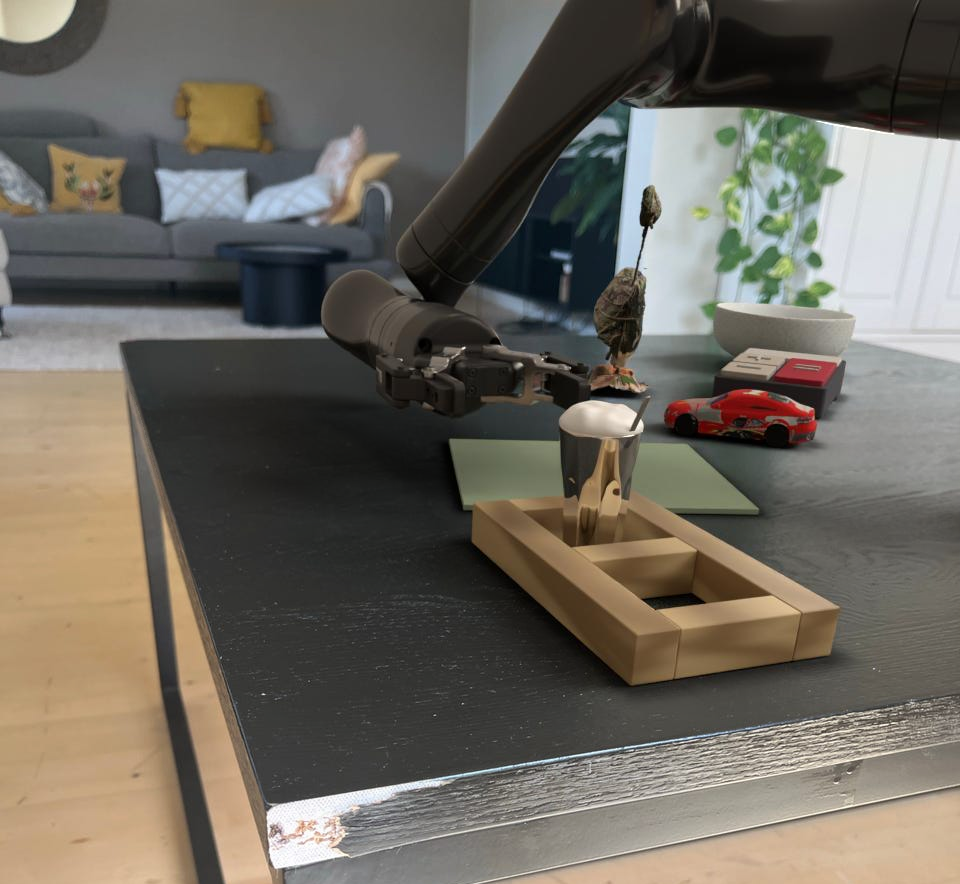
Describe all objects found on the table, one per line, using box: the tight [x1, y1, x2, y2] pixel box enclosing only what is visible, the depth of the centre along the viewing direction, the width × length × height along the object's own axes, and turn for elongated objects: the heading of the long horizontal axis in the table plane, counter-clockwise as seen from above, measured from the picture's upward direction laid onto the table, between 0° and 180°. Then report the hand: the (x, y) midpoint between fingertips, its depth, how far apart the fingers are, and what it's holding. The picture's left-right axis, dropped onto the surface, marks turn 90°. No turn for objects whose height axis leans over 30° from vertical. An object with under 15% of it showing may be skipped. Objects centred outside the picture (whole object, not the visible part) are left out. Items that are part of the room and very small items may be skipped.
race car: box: [663, 389, 818, 448], centre depth 87 cm, size 13×5×4 cm, turn 68°
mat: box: [448, 438, 760, 516], centre depth 74 cm, size 20×18×1 cm
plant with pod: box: [588, 184, 663, 395], centre depth 102 cm, size 8×11×20 cm
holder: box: [471, 490, 841, 687], centre depth 52 cm, size 11×19×2 cm, turn 21°
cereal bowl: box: [712, 302, 857, 358], centre depth 121 cm, size 17×17×7 cm
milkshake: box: [558, 395, 652, 548], centre depth 54 cm, size 4×5×10 cm
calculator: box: [711, 348, 847, 419], centre depth 103 cm, size 11×4×15 cm
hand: (523, 400), depth 62 cm, fingers open, 8 cm apart
